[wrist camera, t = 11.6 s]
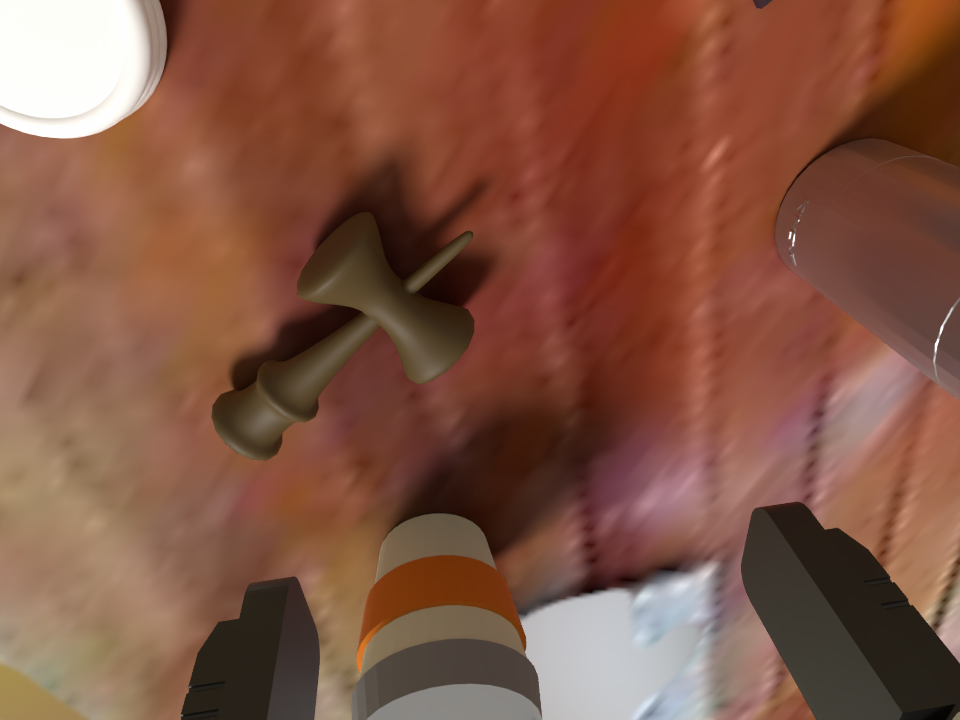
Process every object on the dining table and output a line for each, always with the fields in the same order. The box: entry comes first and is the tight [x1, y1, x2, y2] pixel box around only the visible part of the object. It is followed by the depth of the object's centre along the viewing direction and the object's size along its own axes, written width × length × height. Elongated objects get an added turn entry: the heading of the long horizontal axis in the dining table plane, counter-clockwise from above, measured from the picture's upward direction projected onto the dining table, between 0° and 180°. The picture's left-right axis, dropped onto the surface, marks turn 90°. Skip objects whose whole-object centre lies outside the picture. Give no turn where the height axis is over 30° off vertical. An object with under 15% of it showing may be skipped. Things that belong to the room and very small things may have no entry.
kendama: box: [212, 212, 474, 461], centre depth 38 cm, size 6×10×20 cm
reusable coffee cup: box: [351, 513, 542, 720], centre depth 46 cm, size 13×13×15 cm
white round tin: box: [0, 0, 167, 138], centre depth 28 cm, size 10×10×4 cm
